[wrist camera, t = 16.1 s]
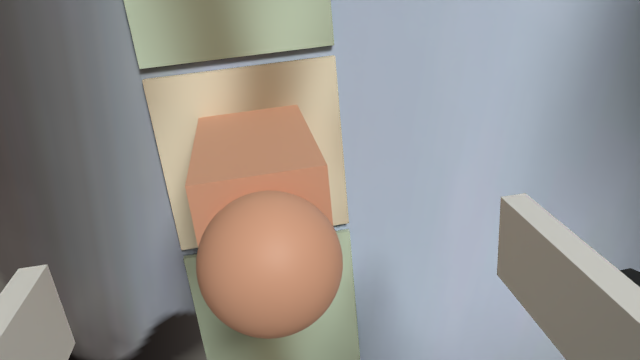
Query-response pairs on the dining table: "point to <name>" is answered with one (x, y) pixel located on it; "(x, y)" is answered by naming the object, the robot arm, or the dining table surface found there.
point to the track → (239, 96)
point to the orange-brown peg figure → (263, 221)
